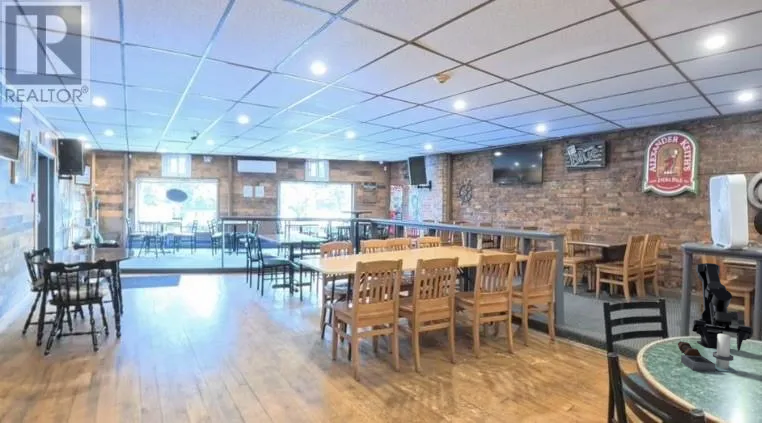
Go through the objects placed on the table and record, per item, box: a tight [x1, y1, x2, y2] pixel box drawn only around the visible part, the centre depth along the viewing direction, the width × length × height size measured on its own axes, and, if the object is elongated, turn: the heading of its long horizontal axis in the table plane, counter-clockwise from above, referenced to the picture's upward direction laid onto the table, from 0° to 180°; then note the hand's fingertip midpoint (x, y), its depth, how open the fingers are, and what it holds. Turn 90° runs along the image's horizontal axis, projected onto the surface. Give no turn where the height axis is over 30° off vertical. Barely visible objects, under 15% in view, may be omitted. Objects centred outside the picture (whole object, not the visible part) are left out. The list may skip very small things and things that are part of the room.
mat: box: [714, 363, 739, 373], centre depth 166 cm, size 7×7×1 cm
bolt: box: [677, 340, 702, 356], centre depth 180 cm, size 6×5×15 cm
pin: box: [712, 333, 734, 369], centre depth 166 cm, size 6×6×13 cm
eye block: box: [680, 354, 716, 373], centre depth 167 cm, size 8×8×3 cm
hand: (723, 348), depth 165 cm, fingers open, 9 cm apart
